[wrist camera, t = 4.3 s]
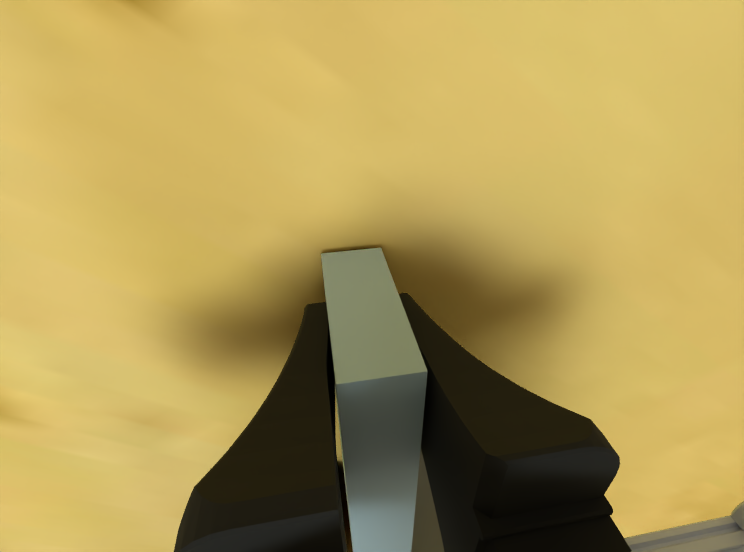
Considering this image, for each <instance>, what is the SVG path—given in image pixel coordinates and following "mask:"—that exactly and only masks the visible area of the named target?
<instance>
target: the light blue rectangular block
mask: <svg viewBox="0 0 744 552" xmlns="http://www.w3.org/2000/svg"><path fill="white" fill-rule="evenodd" d="M321 260H322V269H323V279H324V288H325V298H326V305H327V313H328V321H329V331H330V340H331V350H332V360H333V369H334V379H335V393H336V402H337V411H338V421H339V430H340V440H341V449H342V459H343V468H344V478H345V487H346V496H347V505H348V514H349V523H350V532H351V541H352V550H353V552H411V549H412V538H413V527H414V516H415V505H416V494H417V483H418V472H419V461H420V450H421V439H422V428H423V417H424V406H425V395H426V383H427V372H428V371H427V368H426V366H425V363H424V360H423V358H422V355H421V352H420V350H419V347H418V344H417V342H416V339H415V336H414V334H413V331H412V329H411V326H410V323H409V321H408V318H407V315H406V313H405V310H404V307H403V305H402V302H401V299H400V297H399V294H398V291H397V289H396V286H395V283H394V281H393V278H392V275H391V273H390V270H389V268H388V265H387V262H386V260H385V257H384V254H383V252H382V249H381V248H371V249H361V250H351V251H341V252H331V253H321Z"/></svg>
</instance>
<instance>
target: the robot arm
mask: <svg viewBox="0 0 744 552" xmlns="http://www.w3.org/2000/svg"><path fill="white" fill-rule="evenodd" d="M399 297H400V299H401V302H402V305H403V307H404V310H405V313H406V315H407V318H408V321H409V323H410V326H411V329H412V331H413V334H414V336H415V339H416V342H417V344H418V347H419V350H420V352H421V355H422V358H423V360H424V363H425V366H426V368H427V371H428V372H427V383H426V395H425V406H424V417H423V428H422V439H421V451H422V455H423V459H424V463H425V467H426V471H427V475H428V480H429V484H430V488H431V492H432V497H433V501H434V505H435V510H436V514H437V519H438V523H439V528H440V532H441V537H442V542H443V547H444V552H744V501H743V502H742V503H740V504H739V505H738V506H737V507H736V508H735V509H734V510H733V511H732V513H731V515H730V516H725V517H721V518H716V519H711V520H707V521H702V522H697V523H692V524H688V525H683V526H678V527H674V528H669V529H664V530H660V531H655V532H650V533H646V534H641V535H636V536H632V537H627V538H623V536H622V534H621V533H620V531H619V530H618V528H617V526H616V525H615V523H614V522H613V520H612V519H611V517H610V515H612V513H613V509H612V507H611V505H610V504H609V502H608V500H607V499H606V497H605V496H604V494H605V492H606V490H607V489H608V487H609V486H610V484H611V482H612V481H613V479H614V477H615V476H616V474H617V471H618V469H619V465H620V460H619V456H618V454H617V453H616V452H615V450H614V449H613V448H612V446H611V445H610V443H609V442H608V441H607V439H606V438H605V436H604V435H603V434H602V432H601V431H600V430H599V429H598V428H597V427H596V425H595V424H594V423H593V422H592V421H591V419H588V418H586V417H584V416H581V415H579V414H577V413H574V412H572V411H570V410H567V409H565V408H563V407H560V406H558V405H556V404H554V403H552V402H549V401H547V400H545V399H543V398H541V397H539V396H537V395H536V394H534V393H532V392H530V391H528V390H526V389H524V388H522V387H520V386H519V385H517V384H515V383H514V382H512V381H510V380H509V379H507V378H505V377H504V376H502V375H500V374H499V373H497V372H496V371H494V370H492V369H491V368H489V367H488V366H487V365H485V364H484V363H482V362H481V361H480V360H478V359H477V358H475V357H474V356H473V355H471V354H470V353H469V352H468V351H466V350H465V349H464V348H463V347H461V346H460V345H459V344H458V343H457V342H456V341H454V340H453V339H452V338H451V337H450V336H449V335H448V334H447V333H446V332H444V331H443V330H442V329H441V328H440V327H439V326H438V325H437V324H436V323H435V322H434V321H433V320H432V319H431V318H430V317H429V316H428V315H427V314H426V313H425V312H424V311H423V310H422V309H421V308H420V306H419V305H418V304H417V303H416V302H415V301H414V300H413V299H412V298H411V297H410V295H408V294H407V293H401V294H399ZM174 552H346V544H345V534H344V524H343V515H342V505H341V495H340V485H339V475H338V465H337V455H336V439H335V379H334V369H333V360H332V350H331V340H330V331H329V321H328V313H327V305H326V302H323V303H314V304H308V305H307V306H306V307H305V309H304V315H303V319H302V323H301V326H300V329H299V332H298V335H297V338H296V340H295V343H294V345H293V348H292V350H291V353H290V355H289V357H288V359H287V361H286V363H285V365H284V367H283V370H282V372H281V374H280V375H279V377H278V379H277V381H276V383H275V385H274V386H273V388H272V390H271V391H270V393H269V395H268V396H267V398H266V400H265V401H264V403H263V404H262V406H261V407H260V409H259V410H258V412H257V413H256V415H255V416H254V417H253V419H252V420H251V422H250V423H249V424H248V426H247V427H246V428H245V430H244V431H243V432H242V433H241V435H240V436H239V437H238V438H237V440H236V441H235V442H234V443H233V445H232V446H231V447H230V448H229V450H228V451H227V452H226V453H225V454H224V455H223V457H222V458H221V459H220V460H219V461H218V462H217V463H216V464H215V465H214V466H213V467H212V469H211V470H210V471H209V472H208V473H207V474H206V475H205V476H204V477H203V478H202V479H201V480H200V482H199V483H198V484H197V485H196V486H195V487H194V489H193V491H192V493H191V496H190V498H189V501H188V503H187V506H186V509H185V511H184V514H183V517H182V520H181V523H180V526H179V530H178V534H177V539H176V544H175V549H174Z"/></svg>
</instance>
